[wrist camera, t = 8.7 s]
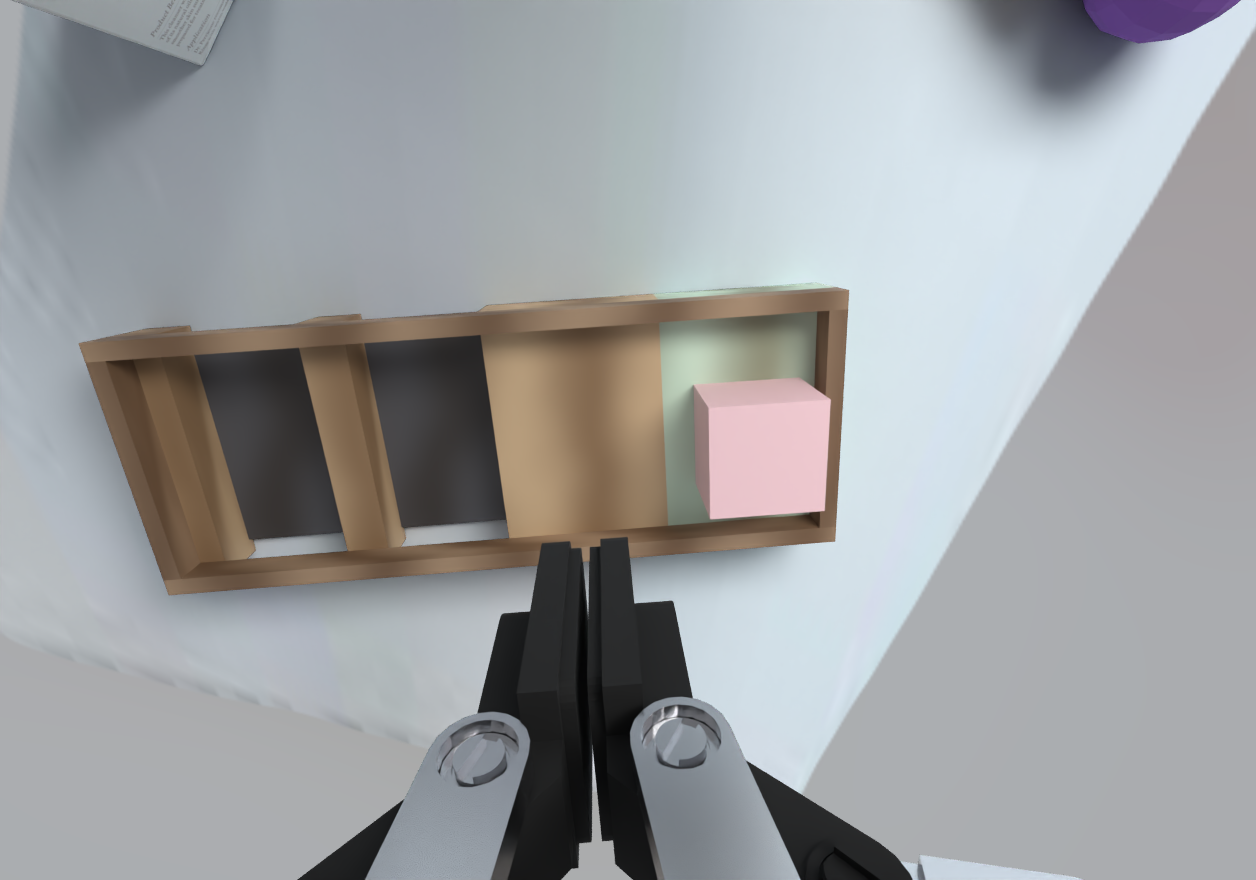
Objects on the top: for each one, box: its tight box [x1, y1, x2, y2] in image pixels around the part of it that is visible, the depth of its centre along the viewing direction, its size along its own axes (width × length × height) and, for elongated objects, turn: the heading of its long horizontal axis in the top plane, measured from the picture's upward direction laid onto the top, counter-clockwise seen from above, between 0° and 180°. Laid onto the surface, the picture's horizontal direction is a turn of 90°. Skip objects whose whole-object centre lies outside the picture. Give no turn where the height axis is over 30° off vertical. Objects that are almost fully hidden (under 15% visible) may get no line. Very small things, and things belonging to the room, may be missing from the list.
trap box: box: [79, 283, 849, 595], centre depth 29 cm, size 32×12×4 cm, turn 94°
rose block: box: [694, 377, 831, 519], centre depth 27 cm, size 5×5×4 cm
